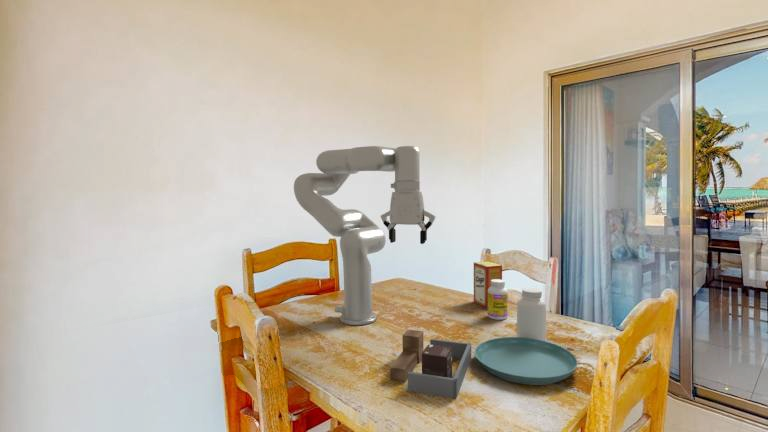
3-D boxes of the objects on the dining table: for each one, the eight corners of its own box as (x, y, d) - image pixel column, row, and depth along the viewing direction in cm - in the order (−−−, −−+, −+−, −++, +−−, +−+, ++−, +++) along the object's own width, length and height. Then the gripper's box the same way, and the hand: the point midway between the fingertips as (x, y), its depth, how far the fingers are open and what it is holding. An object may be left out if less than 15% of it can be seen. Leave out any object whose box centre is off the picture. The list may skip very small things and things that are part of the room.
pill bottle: (545, 337, 120) (545, 287, 119) (546, 347, 112) (547, 294, 111) (517, 334, 122) (517, 286, 121) (516, 344, 115) (516, 292, 114)
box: (447, 388, 90) (447, 356, 89) (421, 384, 92) (421, 353, 92) (452, 376, 96) (452, 346, 95) (428, 373, 98) (427, 343, 97)
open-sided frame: (407, 390, 89) (407, 373, 89) (431, 352, 109) (431, 338, 109) (456, 398, 85) (456, 380, 85) (471, 358, 106) (471, 343, 105)
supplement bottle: (490, 320, 135) (491, 283, 134) (485, 314, 142) (485, 278, 141) (510, 320, 135) (510, 282, 135) (504, 314, 142) (504, 278, 141)
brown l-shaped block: (388, 380, 94) (388, 351, 94) (407, 354, 109) (407, 329, 108) (406, 383, 93) (406, 353, 92) (423, 356, 107) (423, 331, 107)
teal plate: (497, 341, 118) (497, 330, 117) (588, 363, 102) (588, 350, 102) (457, 371, 99) (457, 358, 99) (560, 403, 84) (560, 387, 84)
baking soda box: (473, 301, 158) (473, 261, 157) (488, 300, 160) (488, 260, 159) (486, 308, 149) (486, 265, 148) (501, 306, 151) (502, 264, 150)
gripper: (376, 187, 122) (377, 243, 123) (431, 186, 116) (432, 245, 117) (385, 187, 129) (385, 240, 130) (437, 186, 123) (437, 242, 124)
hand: (407, 242), depth 124 cm, fingers open, 9 cm apart
